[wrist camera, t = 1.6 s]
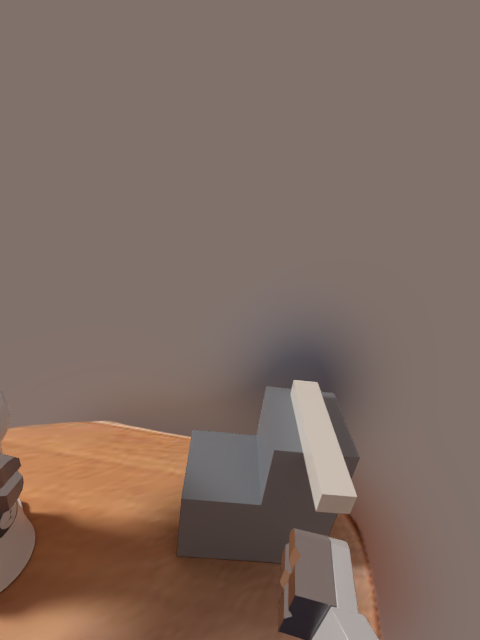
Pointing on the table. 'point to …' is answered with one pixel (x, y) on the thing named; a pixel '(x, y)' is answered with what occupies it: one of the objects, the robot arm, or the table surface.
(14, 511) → the robot arm
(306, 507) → the grey l-shaped step block
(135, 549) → the table surface
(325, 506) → the beige rectangular post
